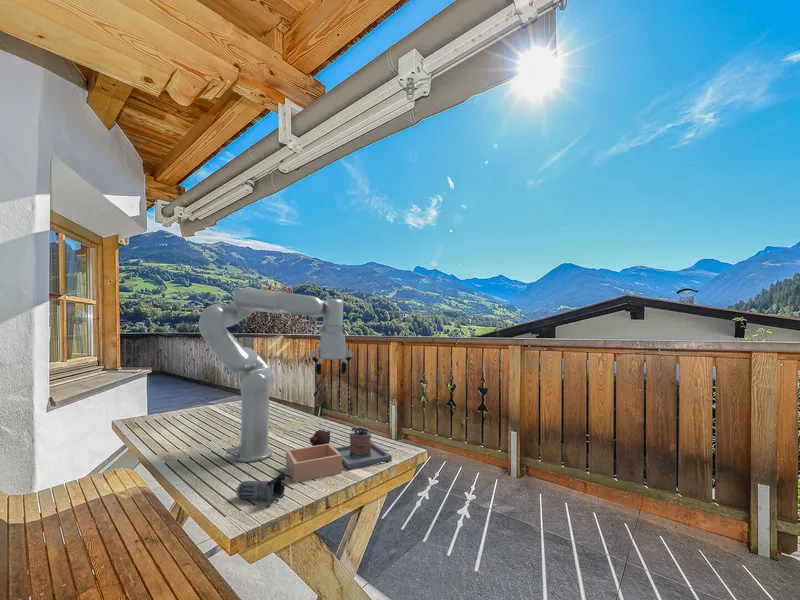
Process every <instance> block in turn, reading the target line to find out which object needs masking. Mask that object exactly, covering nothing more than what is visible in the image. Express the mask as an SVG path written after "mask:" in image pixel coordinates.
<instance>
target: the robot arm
mask: <svg viewBox="0 0 800 600" xmlns="http://www.w3.org/2000/svg"><path fill="white" fill-rule="evenodd" d="M255 312H261V313H262V312H264V313H271V314H277V315H279V314H280V315H281V314H295V315H301V316H309V317H311V318H321V317H323V325H322V326H320V327H319V331H321V332H322V333H321V335H320V339H319V344H318V348H316V349H314V350H311V351H310V352H309V355H310V358H311V360H312V361H313V362H314V363H315V372H316V375H318V376H319V375H321V374H322V361H323V360H340V361H341V362H342V363H341V365H340V366H341V367H340V368H341V369H340V373H341V374H342V375H345V374H346V372H347V364H348V363H349V362H350V361H351V359H352V357H353V355H354V352H353V351H351V350H350V349H347V348H346V347H347V345H346V336H345V333H343V327H344V326H343V322H344V302H343V300H342V299H337V298H327V299H325V300H324V299H320V298H319V297H318V296H317V297H316V296H313V295H308V294H306V295H305V294H300V293H292V292H291V293H288V292H284V291H275V290H267V289H261V288H260V289H259V288H253V287H242V288H239V289H237V291H235V293H234V296H233V301H231V302H229V303H227V304H222V303H221V304H219V303H217V304H214V303H213V304H211V305H209V306H207V307H206V308H205V309H204V310H203V311H202V312H201V314H200V317H199V319H198V329H199V333H200V335H201V337H202V339H203V340H204V342H205V343H206V344H207V345H208V346H209V347H210V349H211V350H212V351H213V353H215V355H216V356H217V357H218V359H219V360H220V361H221V362H222V363H223V365H224V366H225V367H226V369H227V370H229V371H230V372H232V373H234V374H241V376H242V377H243V378H242V379H241V383H240V395H241V396H240V397H241V417H240V418H241V420H240V421H241V423H240V443H239V444H238V445H237V446H236V447H228V448H226V450H225V451H226V455H230V456H232V455H234V456H235V457H234V458H235V460H236V461H237V462H242V463H252V462H258V461H264V460H265V459H268V458H270V457H271V456H272V455H273V450H272V449H271V448H269V430H270V429H269V428H270V427H269V426H270V425H269V422H270V420H269V417H270V396H269V390H270V388H271V387H272V386H273V385H274V382H275V376H274V375H275V374H274V373H273V371H272V370H271V369H270V367H269V366H268V365H267V364H266V362H265V361H264V360H263V359H262V357H260V355H259V354H258V353H257V352H256V351H255V350H254V349H253V348H251V347H247V346H246V347H245V346H243V345H242V344H241V343H240V342H239V341H238V340H237V338H236V337H235V336H234V335H233V334H232V333H231V332H230V331H229V330H228V329H227V328H230V327H232V326H234V325H236V324H238V323H239V322H241V321H242V320H244V319H245V318H248V317H249V316H250V315H252V314H254V313H255ZM316 354H318V358H316ZM346 356H347V357H346Z"/></svg>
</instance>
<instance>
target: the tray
mask: <svg viewBox="0 0 800 600" xmlns="http://www.w3.org/2000/svg"><path fill="white" fill-rule="evenodd" d="M334 448H335V449H336V450H337V451H338V452H339V453H340V454H341V455H342V464H343V465H342V467H344V468H345V469H347V471H352V469H353V470H356V469H362V468H367V467H371V466H370V465H372V466H374V465H373V464H377V463H380V462H386V461H391V462H392V460H393V459H392V458H393V457H392V456H393V455H392V454H390V453H389V452H388V451H386V450H384V449H383V448H382V447H381V446H379V445H377V444H376V443H374V442H373V441H371V456H370V457H355V456H350V444H349V445H344V446H338V447H334ZM386 463H387V462H386ZM377 465H378V464H377ZM366 466H367V467H366Z"/></svg>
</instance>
